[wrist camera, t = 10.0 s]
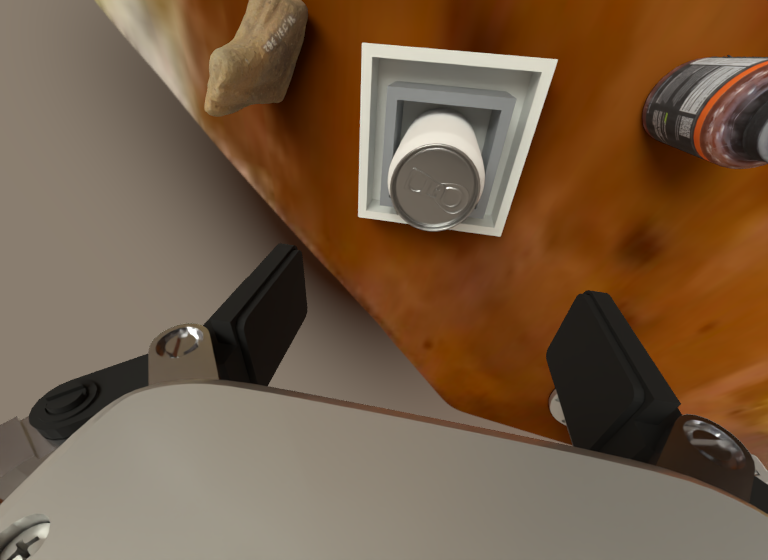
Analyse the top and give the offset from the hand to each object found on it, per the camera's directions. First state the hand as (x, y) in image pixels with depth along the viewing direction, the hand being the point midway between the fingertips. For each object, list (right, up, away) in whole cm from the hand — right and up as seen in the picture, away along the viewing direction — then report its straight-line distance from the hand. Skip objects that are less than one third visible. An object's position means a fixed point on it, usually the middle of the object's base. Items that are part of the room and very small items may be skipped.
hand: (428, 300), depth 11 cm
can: (+4, +13, +19) cm, 23 cm away
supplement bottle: (+23, +15, +15) cm, 31 cm away
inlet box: (+4, +14, +19) cm, 24 cm away
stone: (-11, +21, +17) cm, 29 cm away
